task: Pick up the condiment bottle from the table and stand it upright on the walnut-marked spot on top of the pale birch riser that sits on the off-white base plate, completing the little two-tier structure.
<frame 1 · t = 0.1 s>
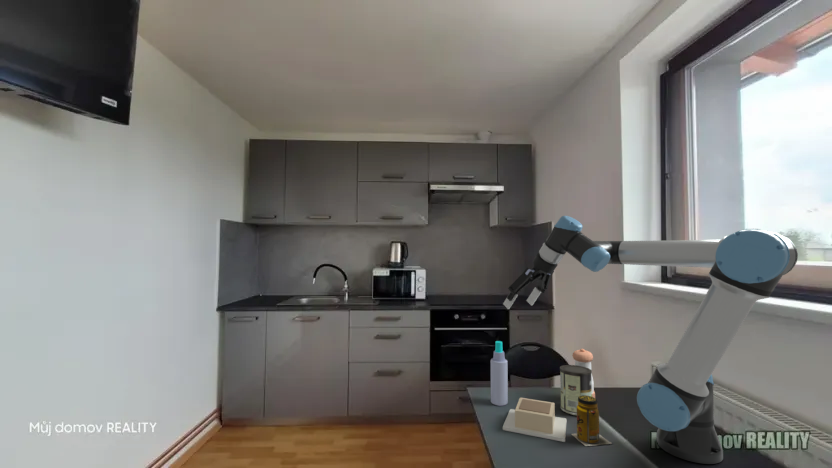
hand: (518, 304, 136), 36 cm above the table, tool tilted 35°, fingers open, 13 cm apart
condiment: (591, 440, 111), on the table
structure base: (535, 425, 119), on the table
spray bottle: (499, 403, 137), on the table
pepper shaker: (584, 400, 139), on the table
coffee can: (576, 410, 131), on the table
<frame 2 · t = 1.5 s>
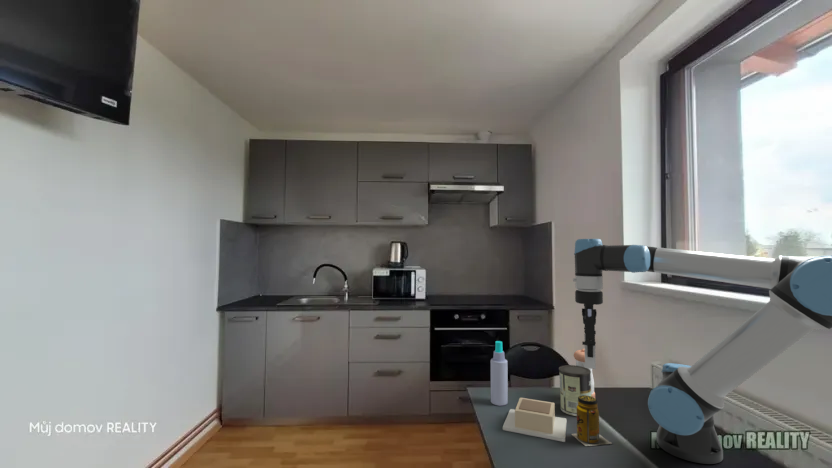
hand: (589, 361, 112), 23 cm above the table, tool pointing down, fingers open, 13 cm apart
nothing on the table moved.
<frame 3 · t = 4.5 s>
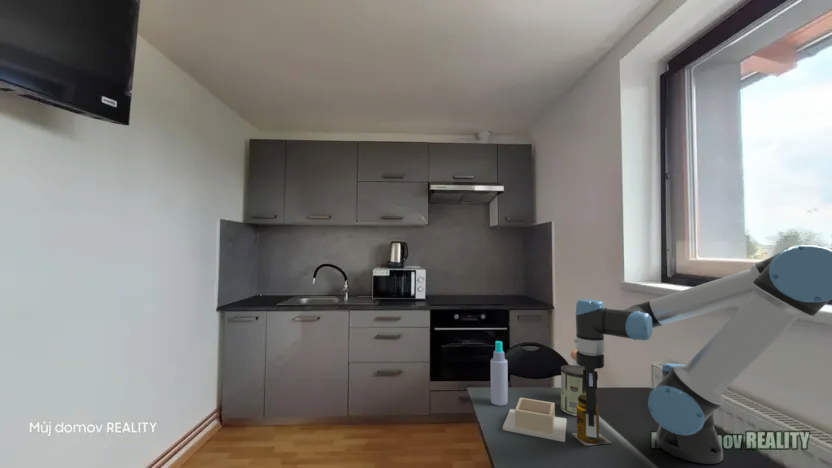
hand: (590, 430, 111), 2 cm above the table, tool pointing down, fingers closed on condiment, 6 cm apart
condiment: (591, 439, 111), on the table, touching gripper
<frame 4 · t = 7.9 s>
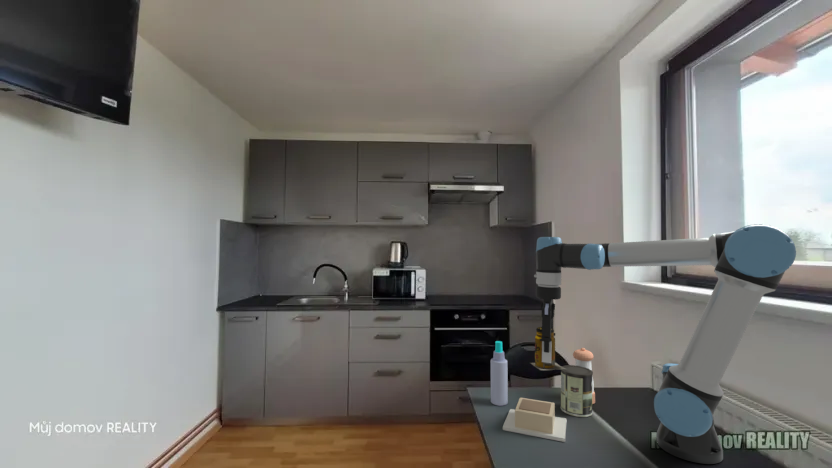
hand: (547, 359, 118), 22 cm above the table, tool pointing down, fingers closed on condiment, 6 cm apart
condiment: (547, 367, 118), point 19 cm above the table, touching gripper
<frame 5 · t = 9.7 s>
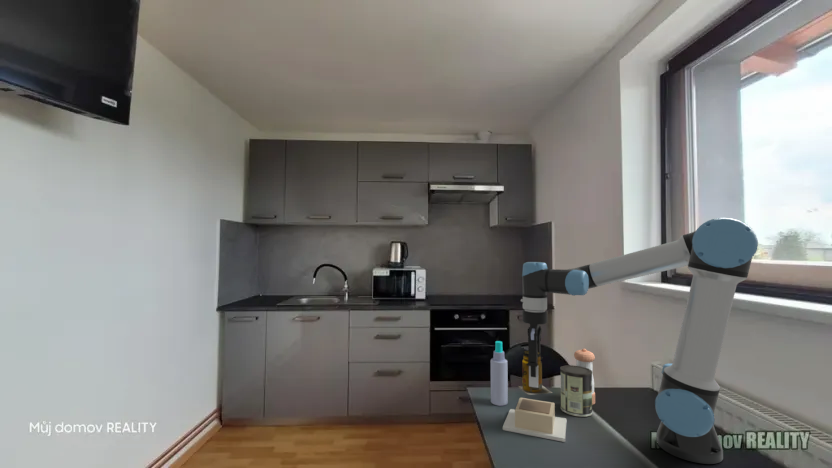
hand: (534, 382, 120), 13 cm above the table, tool pointing down, fingers closed on condiment, 6 cm apart
condiment: (534, 390, 120), point 11 cm above the table, touching gripper
when the fingers open (10 cm above the table, at t = 11.1 s): condiment drops 1 cm, resting on structure base.
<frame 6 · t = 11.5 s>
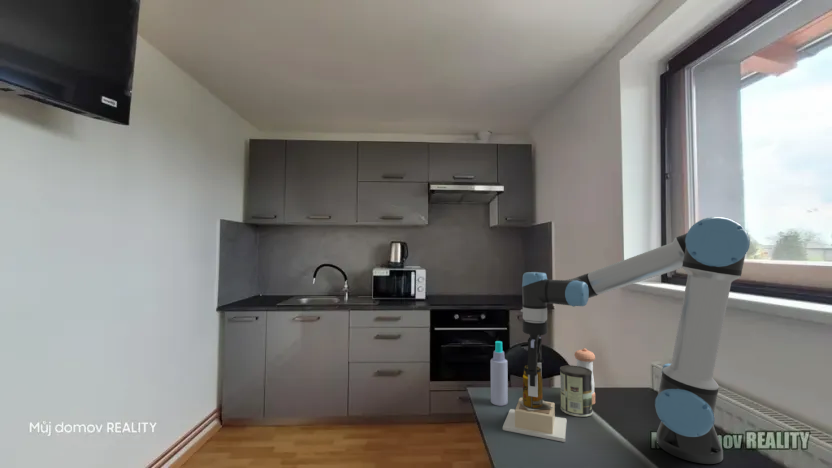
hand: (535, 389, 120), 12 cm above the table, tool pointing down, fingers open, 12 cm apart
condiment: (535, 406, 120), point 6 cm above the table, touching structure base
everything else where it was.
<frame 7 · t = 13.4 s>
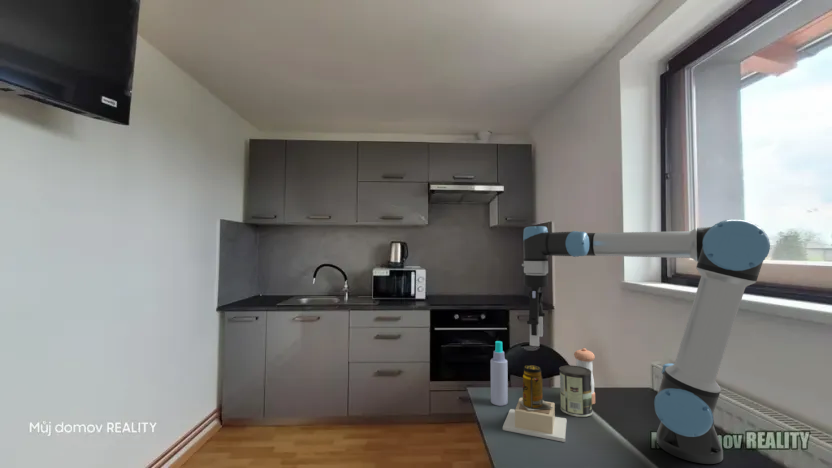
hand: (536, 340, 120), 27 cm above the table, tool pointing down, fingers open, 13 cm apart
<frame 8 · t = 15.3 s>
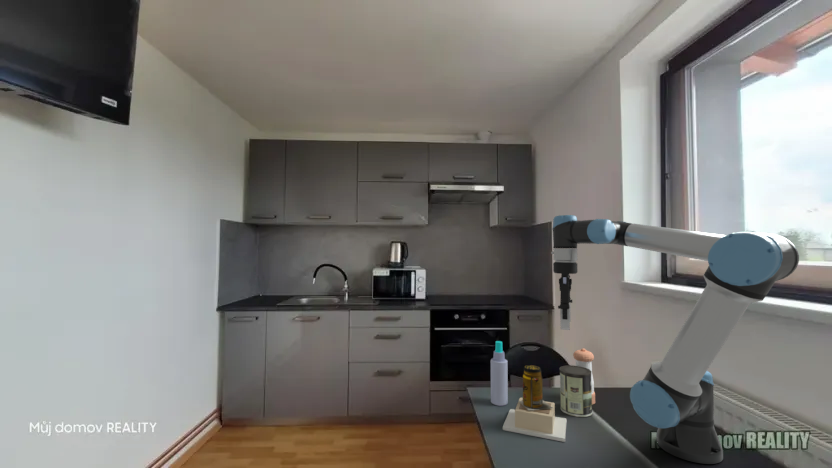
hand: (565, 325, 125), 31 cm above the table, tool pointing down, fingers open, 13 cm apart
at the end: condiment inside the target area on the structure base (0.5 cm from its centre), point 6.0 cm above the structure base's base; condiment tilted 0°; the gripper is holding nothing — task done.
